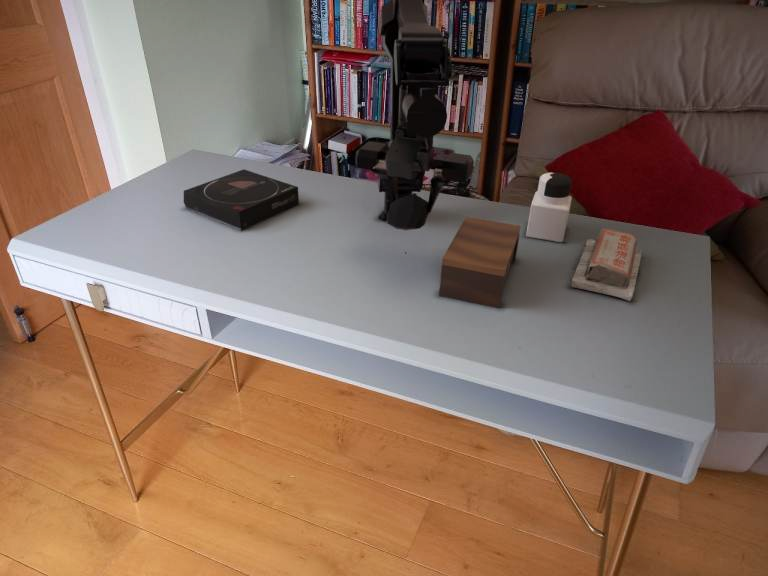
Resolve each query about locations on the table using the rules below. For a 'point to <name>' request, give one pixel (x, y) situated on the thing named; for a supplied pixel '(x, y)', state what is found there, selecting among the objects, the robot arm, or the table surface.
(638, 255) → the packaged product
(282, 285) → the table surface
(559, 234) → the medicine bottle
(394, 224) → the gaming mouse
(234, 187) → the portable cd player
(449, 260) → the walnut wood stand
